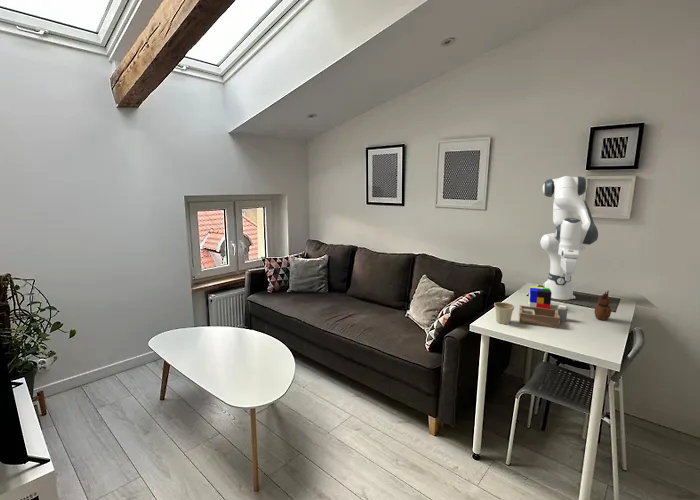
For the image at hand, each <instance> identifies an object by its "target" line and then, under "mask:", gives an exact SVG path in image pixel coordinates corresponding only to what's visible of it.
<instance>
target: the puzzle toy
mask: <svg viewBox="0 0 700 500" xmlns="http://www.w3.org/2000/svg"><path fill="white" fill-rule="evenodd" d="M551 294H552V292H551V290H550V288H545V287H544V286H543V287H542V286H532V285H529V289H528V300H527V301H528V302H527V304H528V306H529V307H537V308H546V309H551V304H552V303H551V302H552V298H551Z"/></svg>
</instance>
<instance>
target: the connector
mask: <svg viewBox="0 0 700 500" xmlns="http://www.w3.org/2000/svg"><path fill="white" fill-rule="evenodd" d="M556 310H557V312H558V314H559V317H560V322H567V317H568V308H567V306H566V305H563V304H561V305H560V304H559V305H558V306H556Z"/></svg>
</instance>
